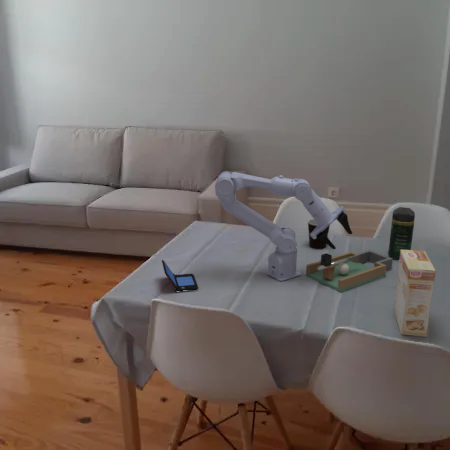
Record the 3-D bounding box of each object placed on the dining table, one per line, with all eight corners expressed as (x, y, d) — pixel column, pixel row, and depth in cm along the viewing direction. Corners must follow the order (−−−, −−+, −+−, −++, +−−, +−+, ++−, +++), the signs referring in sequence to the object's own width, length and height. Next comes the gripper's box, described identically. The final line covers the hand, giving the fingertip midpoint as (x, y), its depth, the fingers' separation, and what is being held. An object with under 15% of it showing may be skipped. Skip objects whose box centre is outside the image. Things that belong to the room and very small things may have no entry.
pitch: (340, 292, 166) (341, 280, 164) (306, 275, 178) (306, 264, 177) (398, 271, 181) (399, 260, 180) (362, 257, 194) (363, 247, 192)
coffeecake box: (427, 337, 139) (436, 270, 133) (400, 335, 140) (407, 269, 134) (417, 311, 153) (425, 250, 147) (393, 309, 154) (399, 248, 148)
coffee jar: (409, 262, 189) (415, 213, 183) (387, 259, 192) (392, 211, 186) (410, 253, 198) (416, 206, 192) (389, 250, 200) (393, 204, 194)
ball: (343, 277, 174) (343, 266, 173) (334, 273, 177) (335, 262, 176) (351, 274, 176) (352, 263, 175) (342, 270, 179) (343, 260, 178)
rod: (320, 282, 169) (322, 258, 166) (314, 279, 171) (315, 255, 169) (362, 269, 180) (364, 246, 177) (355, 266, 182) (357, 243, 179)
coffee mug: (322, 251, 200) (323, 227, 196) (302, 246, 204) (303, 223, 201) (335, 243, 208) (337, 219, 205) (316, 238, 213) (317, 215, 210)
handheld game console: (199, 291, 167) (198, 270, 165) (165, 294, 165) (164, 273, 163) (193, 276, 179) (193, 256, 177) (162, 278, 177) (161, 258, 175)
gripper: (306, 225, 167) (331, 256, 169) (339, 196, 168) (363, 227, 171) (299, 224, 174) (323, 253, 176) (330, 195, 175) (353, 225, 178)
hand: (342, 240), depth 174 cm, fingers open, 7 cm apart
